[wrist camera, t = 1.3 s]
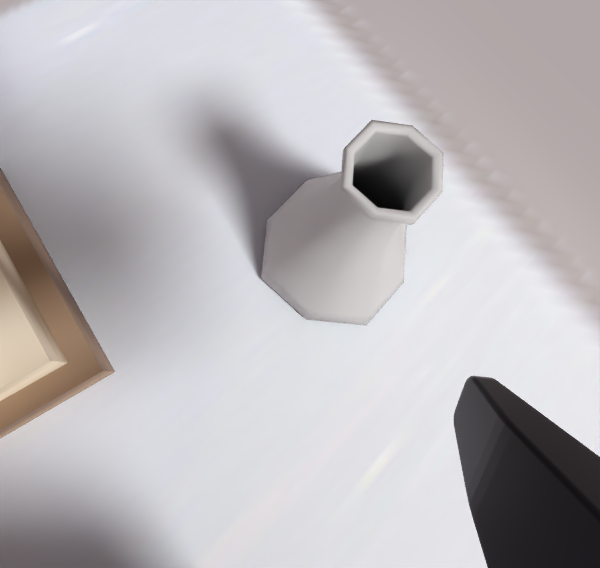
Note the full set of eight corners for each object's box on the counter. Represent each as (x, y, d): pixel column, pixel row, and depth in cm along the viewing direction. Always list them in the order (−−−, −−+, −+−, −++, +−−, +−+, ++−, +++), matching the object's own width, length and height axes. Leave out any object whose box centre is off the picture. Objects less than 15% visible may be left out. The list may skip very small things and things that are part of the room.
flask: (296, 159, 26) (329, 22, 16) (427, 218, 26) (539, 119, 16) (235, 288, 24) (231, 224, 14) (375, 351, 24) (464, 330, 15)
